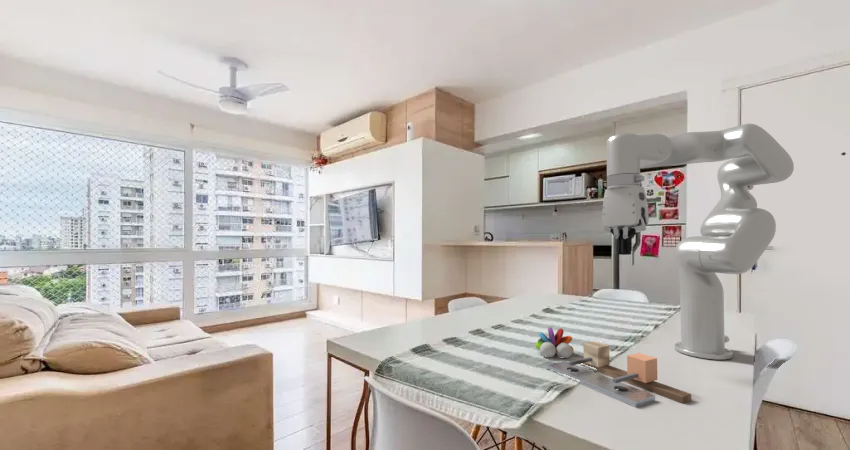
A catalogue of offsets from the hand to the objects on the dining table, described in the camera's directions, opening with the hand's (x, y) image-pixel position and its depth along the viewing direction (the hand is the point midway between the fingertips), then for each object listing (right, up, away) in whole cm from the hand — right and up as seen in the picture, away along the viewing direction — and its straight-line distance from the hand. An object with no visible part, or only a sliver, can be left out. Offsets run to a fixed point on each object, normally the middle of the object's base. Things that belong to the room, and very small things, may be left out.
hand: (624, 254), depth 94 cm
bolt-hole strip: (-14, -27, -15) cm, 34 cm away
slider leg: (-8, -25, -17) cm, 31 cm away
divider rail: (-9, -27, -14) cm, 32 cm away
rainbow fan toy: (-16, -28, +5) cm, 32 cm away
